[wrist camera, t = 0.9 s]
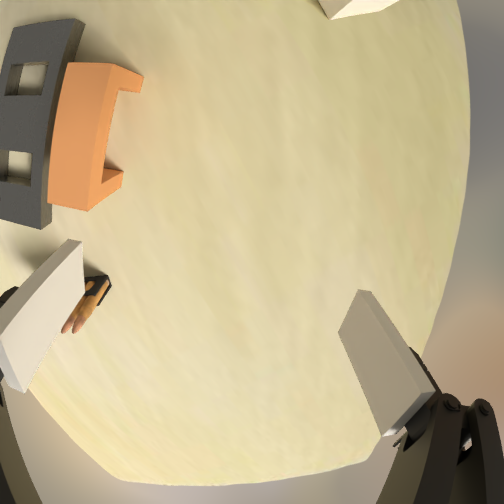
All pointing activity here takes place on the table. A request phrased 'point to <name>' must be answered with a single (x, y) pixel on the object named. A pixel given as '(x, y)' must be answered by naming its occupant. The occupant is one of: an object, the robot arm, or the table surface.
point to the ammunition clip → (87, 302)
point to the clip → (86, 134)
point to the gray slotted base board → (32, 115)
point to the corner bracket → (352, 7)
